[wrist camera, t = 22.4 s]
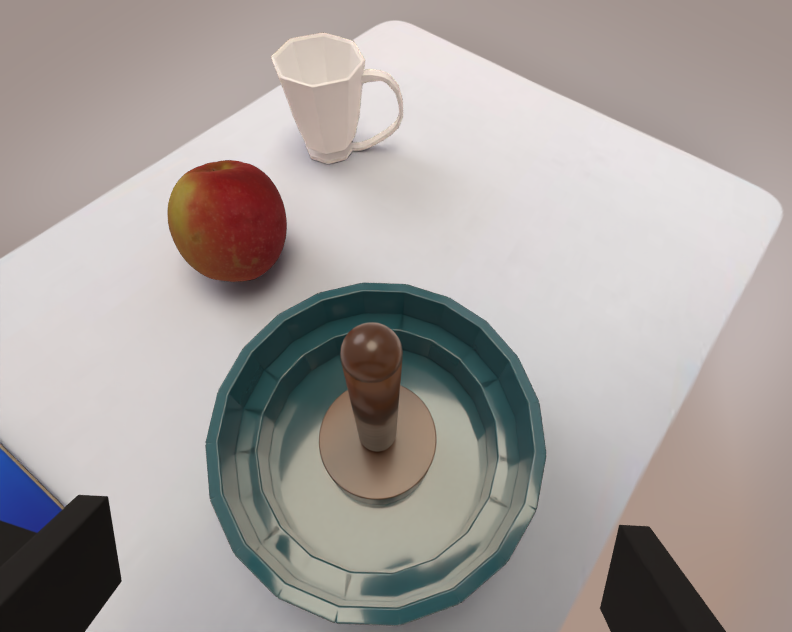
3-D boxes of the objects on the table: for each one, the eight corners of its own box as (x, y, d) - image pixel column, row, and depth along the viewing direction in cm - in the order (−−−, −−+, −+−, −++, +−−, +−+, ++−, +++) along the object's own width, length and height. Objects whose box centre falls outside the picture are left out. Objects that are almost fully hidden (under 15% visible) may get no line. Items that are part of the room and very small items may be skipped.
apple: (316, 236, 34) (299, 154, 27) (258, 317, 31) (220, 246, 24) (237, 204, 36) (200, 118, 29) (172, 277, 32) (112, 199, 25)
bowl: (560, 425, 27) (601, 394, 22) (405, 690, 21) (411, 735, 16) (362, 290, 32) (357, 238, 27) (185, 473, 25) (133, 452, 20)
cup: (296, 120, 41) (278, 29, 34) (402, 124, 41) (405, 34, 34) (285, 173, 37) (262, 84, 30) (401, 177, 37) (404, 89, 30)
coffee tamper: (453, 436, 26) (516, 324, 13) (387, 530, 23) (388, 501, 11) (370, 374, 28) (357, 224, 15) (301, 455, 25) (216, 356, 13)
